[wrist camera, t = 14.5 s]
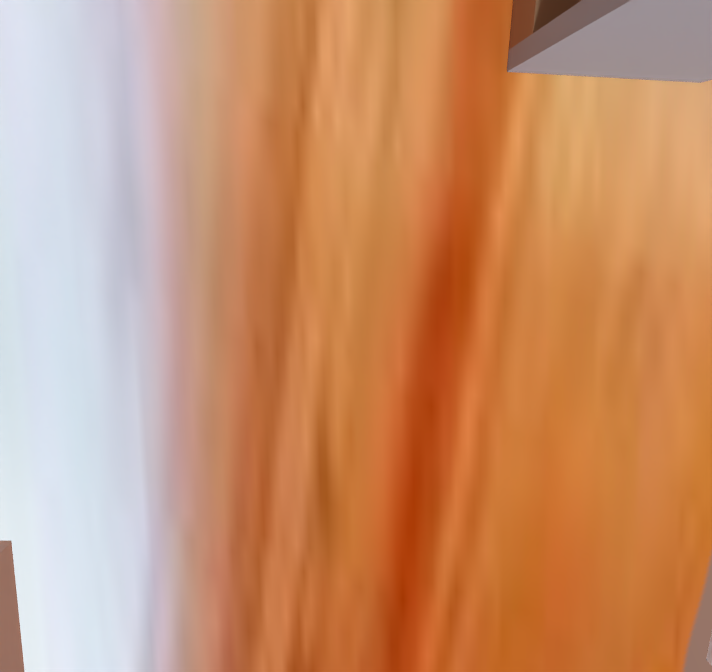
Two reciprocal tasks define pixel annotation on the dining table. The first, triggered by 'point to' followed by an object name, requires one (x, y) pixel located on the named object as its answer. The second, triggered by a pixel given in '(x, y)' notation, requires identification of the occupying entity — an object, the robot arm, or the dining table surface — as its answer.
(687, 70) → the grey magazine holder
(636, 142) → the dining table surface
